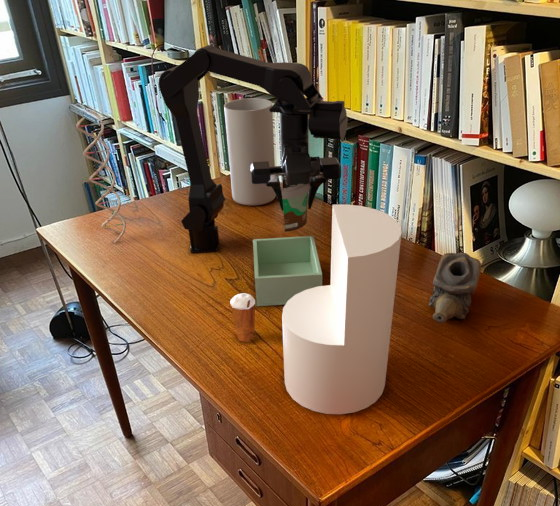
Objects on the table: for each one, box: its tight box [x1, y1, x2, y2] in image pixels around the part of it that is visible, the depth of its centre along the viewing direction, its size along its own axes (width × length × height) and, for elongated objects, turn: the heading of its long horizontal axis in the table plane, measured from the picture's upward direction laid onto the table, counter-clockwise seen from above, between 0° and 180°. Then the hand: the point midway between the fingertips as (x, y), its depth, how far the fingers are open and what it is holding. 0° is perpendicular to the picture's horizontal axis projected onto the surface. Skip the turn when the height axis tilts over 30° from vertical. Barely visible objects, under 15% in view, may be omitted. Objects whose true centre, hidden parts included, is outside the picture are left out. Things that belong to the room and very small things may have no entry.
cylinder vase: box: [223, 97, 277, 207], centre depth 153 cm, size 12×12×25 cm
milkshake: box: [229, 292, 256, 343], centre depth 104 cm, size 4×5×10 cm
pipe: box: [428, 252, 482, 324], centre depth 107 cm, size 9×22×10 cm, turn 166°
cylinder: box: [281, 204, 403, 415], centre depth 88 cm, size 17×17×28 cm
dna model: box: [74, 109, 127, 244], centre depth 135 cm, size 7×6×30 cm
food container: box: [281, 175, 311, 233], centre depth 122 cm, size 12×6×10 cm, turn 0°
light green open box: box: [252, 235, 323, 307], centre depth 121 cm, size 14×18×7 cm
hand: (295, 209), depth 123 cm, fingers closed on food container, 5 cm apart
